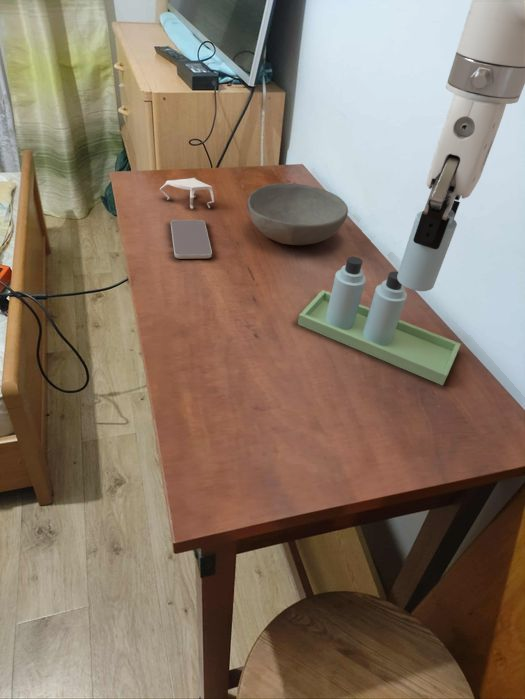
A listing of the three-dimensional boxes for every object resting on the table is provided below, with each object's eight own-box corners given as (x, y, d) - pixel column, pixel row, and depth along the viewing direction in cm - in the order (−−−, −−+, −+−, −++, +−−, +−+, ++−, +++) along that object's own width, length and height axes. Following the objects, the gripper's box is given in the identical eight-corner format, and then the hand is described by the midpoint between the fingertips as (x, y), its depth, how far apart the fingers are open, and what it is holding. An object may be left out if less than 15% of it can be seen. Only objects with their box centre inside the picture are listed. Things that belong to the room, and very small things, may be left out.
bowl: (298, 272, 100) (304, 236, 95) (224, 231, 110) (226, 196, 105) (358, 240, 113) (366, 207, 108) (287, 206, 123) (292, 173, 118)
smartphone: (204, 220, 111) (212, 254, 100) (204, 223, 112) (212, 259, 101) (170, 219, 110) (174, 255, 98) (170, 223, 110) (174, 259, 99)
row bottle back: (358, 318, 90) (375, 259, 82) (347, 333, 86) (364, 272, 78) (332, 308, 91) (346, 249, 83) (320, 322, 88) (334, 261, 80)
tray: (456, 353, 86) (461, 343, 85) (442, 385, 79) (447, 376, 78) (320, 298, 94) (322, 289, 93) (297, 324, 88) (299, 314, 86)
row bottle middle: (395, 334, 87) (416, 274, 80) (386, 349, 84) (407, 288, 76) (368, 323, 89) (386, 263, 81) (358, 337, 86) (376, 276, 78)
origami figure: (209, 194, 123) (210, 175, 120) (214, 210, 117) (215, 190, 114) (159, 194, 121) (158, 173, 117) (161, 210, 114) (160, 189, 111)
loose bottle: (437, 279, 70) (469, 195, 62) (428, 295, 66) (461, 209, 59) (402, 267, 71) (429, 183, 64) (392, 282, 68) (419, 196, 60)
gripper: (512, 102, 46) (445, 275, 57) (532, 73, 58) (473, 221, 69) (431, 84, 48) (382, 253, 60) (466, 60, 60) (420, 205, 72)
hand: (431, 234), depth 64 cm, fingers closed on loose bottle, 5 cm apart
